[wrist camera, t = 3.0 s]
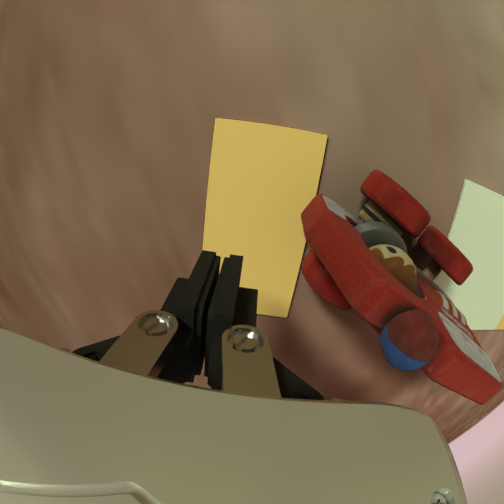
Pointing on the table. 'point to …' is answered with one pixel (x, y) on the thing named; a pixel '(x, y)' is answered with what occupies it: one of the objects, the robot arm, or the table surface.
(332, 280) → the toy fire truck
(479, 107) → the table surface
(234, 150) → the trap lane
